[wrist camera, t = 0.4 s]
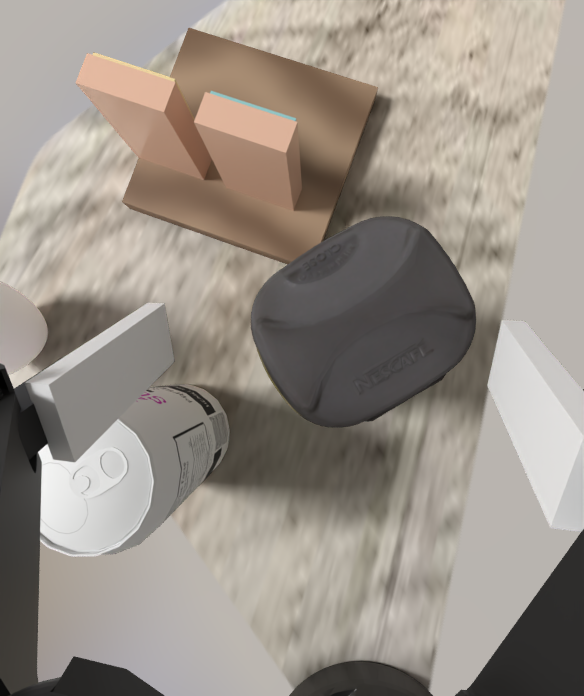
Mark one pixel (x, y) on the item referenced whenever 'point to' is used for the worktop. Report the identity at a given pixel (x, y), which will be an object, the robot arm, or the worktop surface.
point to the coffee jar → (363, 322)
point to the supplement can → (132, 472)
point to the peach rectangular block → (252, 148)
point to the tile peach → (146, 113)
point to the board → (314, 146)
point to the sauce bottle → (19, 329)
